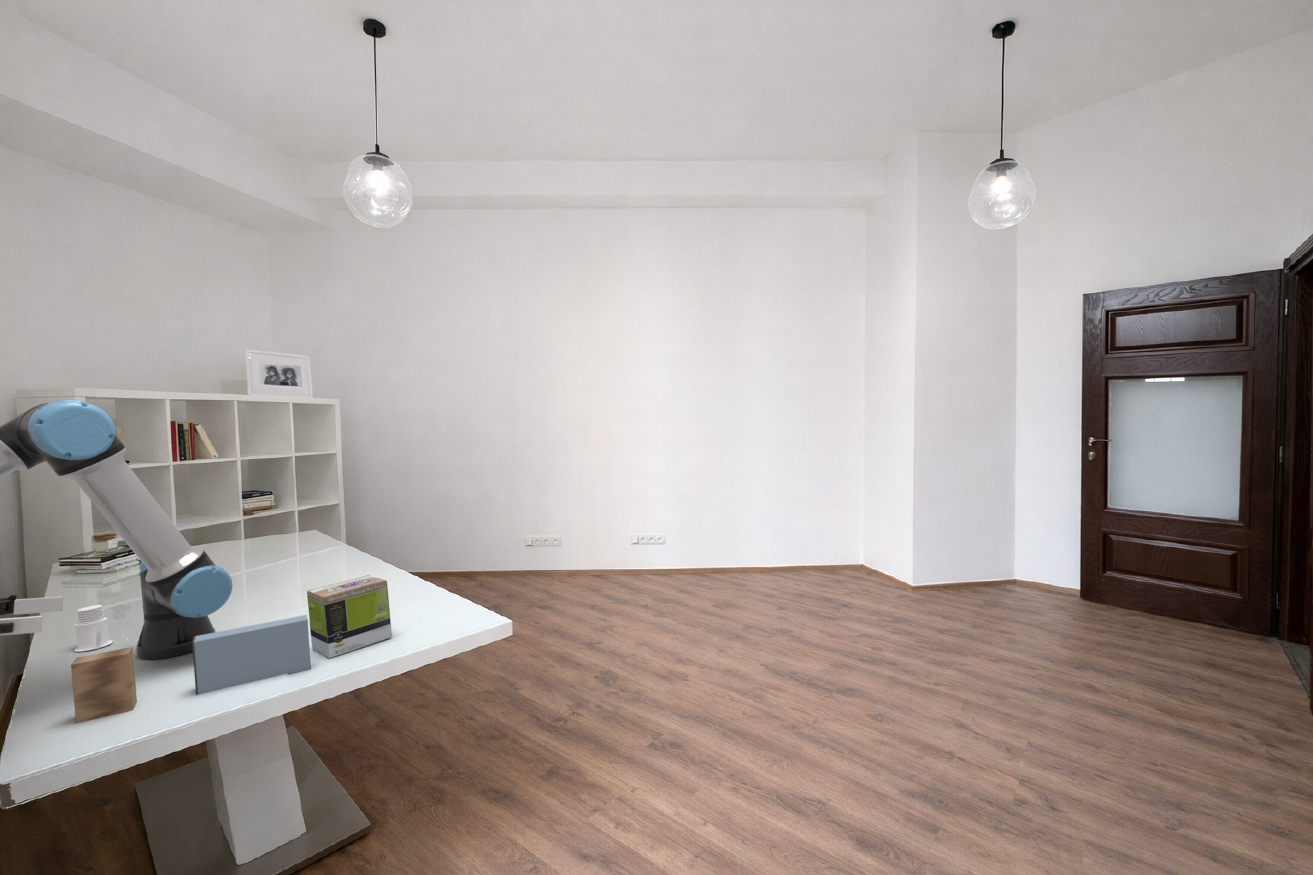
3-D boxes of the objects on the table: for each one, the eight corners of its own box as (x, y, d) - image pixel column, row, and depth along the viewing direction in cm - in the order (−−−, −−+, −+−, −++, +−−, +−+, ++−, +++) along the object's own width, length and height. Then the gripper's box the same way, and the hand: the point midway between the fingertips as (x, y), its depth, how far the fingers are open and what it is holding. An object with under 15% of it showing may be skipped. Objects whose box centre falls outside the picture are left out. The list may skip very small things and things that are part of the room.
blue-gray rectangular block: (196, 696, 119) (191, 642, 118) (198, 688, 122) (194, 636, 122) (311, 669, 130) (307, 619, 129) (309, 662, 133) (306, 614, 133)
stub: (75, 723, 109) (70, 664, 109) (81, 714, 113) (76, 657, 112) (133, 709, 114) (128, 653, 113) (136, 701, 117) (132, 646, 116)
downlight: (118, 644, 149) (114, 604, 149) (81, 654, 143) (76, 613, 143) (106, 640, 154) (102, 602, 153) (69, 650, 148) (65, 610, 147)
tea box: (373, 630, 153) (370, 573, 152) (392, 638, 146) (389, 579, 146) (310, 649, 141) (306, 588, 140) (328, 660, 135) (323, 596, 134)
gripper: (-92, 627, 108) (68, 614, 120) (-173, 676, 88) (30, 655, 100) (-89, 586, 109) (71, 577, 120) (-169, 625, 88) (33, 611, 100)
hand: (53, 613), depth 110 cm, fingers open, 13 cm apart
